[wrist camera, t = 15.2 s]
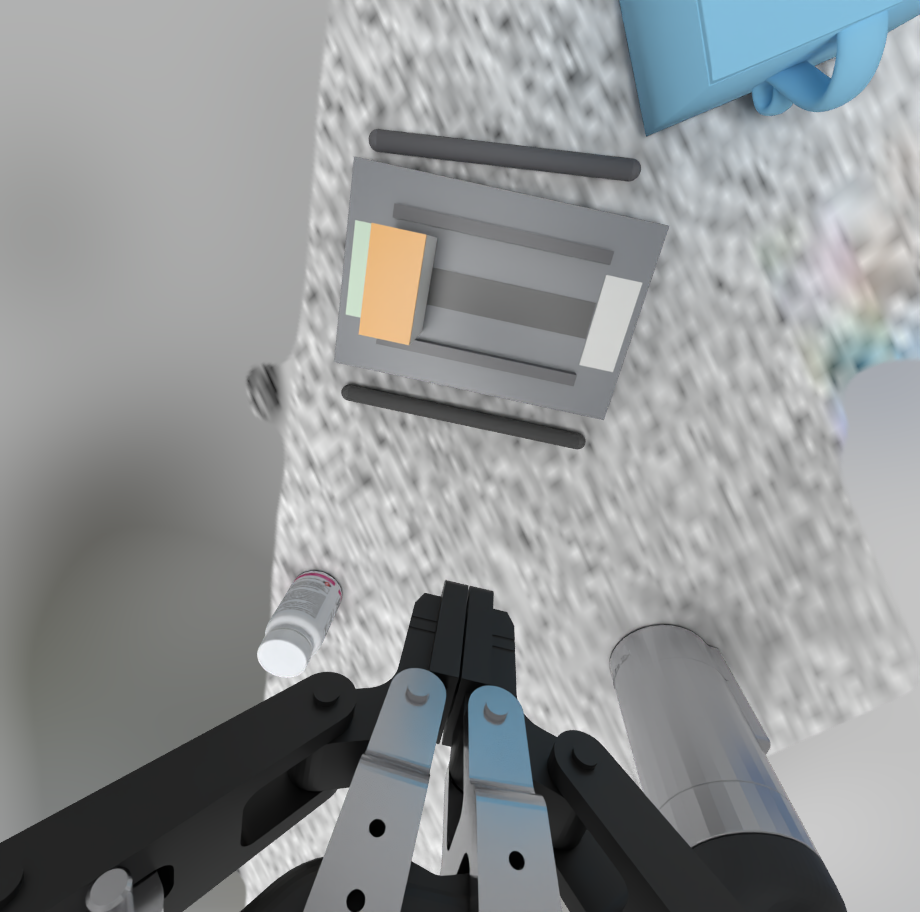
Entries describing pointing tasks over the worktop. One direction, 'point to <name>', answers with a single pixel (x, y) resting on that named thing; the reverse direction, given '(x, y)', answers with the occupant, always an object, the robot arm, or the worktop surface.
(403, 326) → the grey orange rectangular block
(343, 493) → the worktop surface
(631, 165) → the cord
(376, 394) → the dark grey rod
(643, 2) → the teapot
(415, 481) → the worktop surface
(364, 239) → the panel
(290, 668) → the pill bottle
